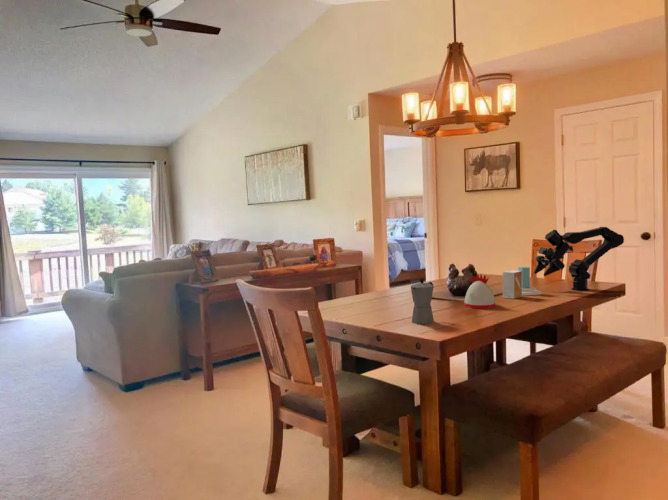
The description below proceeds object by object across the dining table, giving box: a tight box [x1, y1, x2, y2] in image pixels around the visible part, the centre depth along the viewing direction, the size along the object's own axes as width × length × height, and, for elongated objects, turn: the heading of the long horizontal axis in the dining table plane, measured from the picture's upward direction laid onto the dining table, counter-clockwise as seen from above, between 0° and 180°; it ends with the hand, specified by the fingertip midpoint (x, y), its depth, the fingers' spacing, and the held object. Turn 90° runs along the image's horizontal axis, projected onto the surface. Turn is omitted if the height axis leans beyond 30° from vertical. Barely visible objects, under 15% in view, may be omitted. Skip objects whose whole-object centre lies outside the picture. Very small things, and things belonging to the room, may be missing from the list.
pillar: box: [517, 266, 531, 289], centre depth 269 cm, size 4×4×12 cm
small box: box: [502, 269, 523, 300], centre depth 259 cm, size 8×6×13 cm
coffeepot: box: [410, 277, 435, 325], centre depth 214 cm, size 15×9×18 cm, turn 141°
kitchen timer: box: [463, 273, 496, 310], centre depth 241 cm, size 14×14×15 cm
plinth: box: [522, 286, 542, 297], centre depth 269 cm, size 12×12×3 cm
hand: (539, 274), depth 270 cm, fingers open, 9 cm apart
